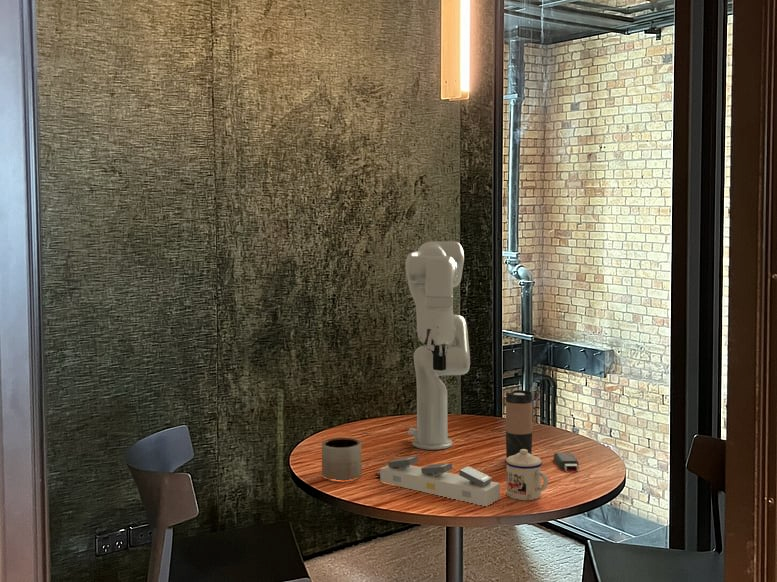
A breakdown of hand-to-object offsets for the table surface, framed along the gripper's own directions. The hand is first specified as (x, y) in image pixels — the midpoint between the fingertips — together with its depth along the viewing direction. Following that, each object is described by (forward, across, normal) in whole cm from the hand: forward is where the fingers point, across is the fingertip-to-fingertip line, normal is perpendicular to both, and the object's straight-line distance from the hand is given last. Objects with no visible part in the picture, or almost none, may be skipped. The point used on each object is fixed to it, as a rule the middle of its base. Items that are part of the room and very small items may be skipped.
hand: (439, 369), depth 210 cm
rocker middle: (+24, +12, +7) cm, 28 cm away
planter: (+29, +17, -21) cm, 40 cm away
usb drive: (+30, -28, +25) cm, 48 cm away
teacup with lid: (+29, +3, +28) cm, 41 cm away
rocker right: (+24, +12, +18) cm, 32 cm away
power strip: (+29, +12, +5) cm, 32 cm away
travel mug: (+29, -24, +12) cm, 40 cm away
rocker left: (+24, +12, -4) cm, 27 cm away
